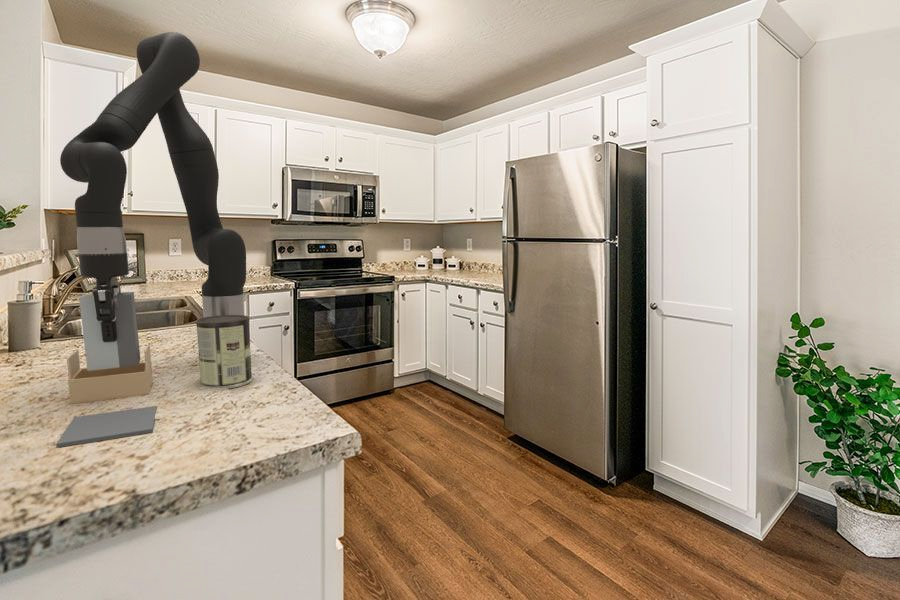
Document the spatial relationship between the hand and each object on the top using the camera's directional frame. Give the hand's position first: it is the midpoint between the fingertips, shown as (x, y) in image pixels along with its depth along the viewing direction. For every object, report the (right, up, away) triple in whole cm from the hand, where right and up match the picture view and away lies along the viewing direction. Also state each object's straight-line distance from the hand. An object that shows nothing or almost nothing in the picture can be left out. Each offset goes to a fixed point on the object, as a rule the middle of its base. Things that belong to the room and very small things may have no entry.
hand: (112, 338), depth 92 cm
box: (0, -5, +1) cm, 5 cm away
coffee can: (+18, -11, +10) cm, 23 cm away
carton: (0, -11, +1) cm, 11 cm away
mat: (+10, -13, -14) cm, 22 cm away
